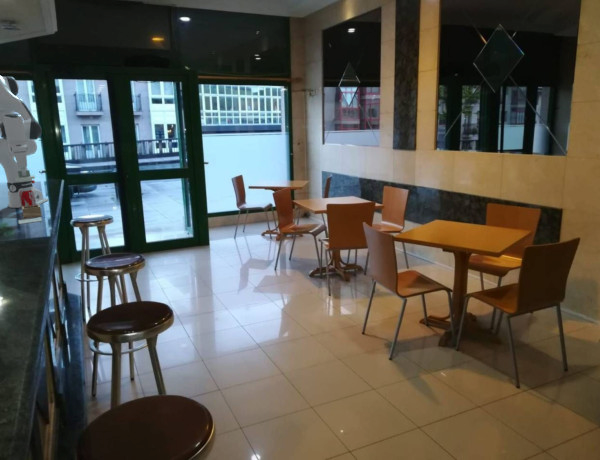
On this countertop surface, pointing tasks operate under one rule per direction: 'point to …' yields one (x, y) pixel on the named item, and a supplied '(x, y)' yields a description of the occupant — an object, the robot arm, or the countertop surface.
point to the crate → (31, 211)
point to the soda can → (27, 197)
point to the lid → (24, 178)
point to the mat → (30, 220)
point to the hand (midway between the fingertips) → (24, 175)
